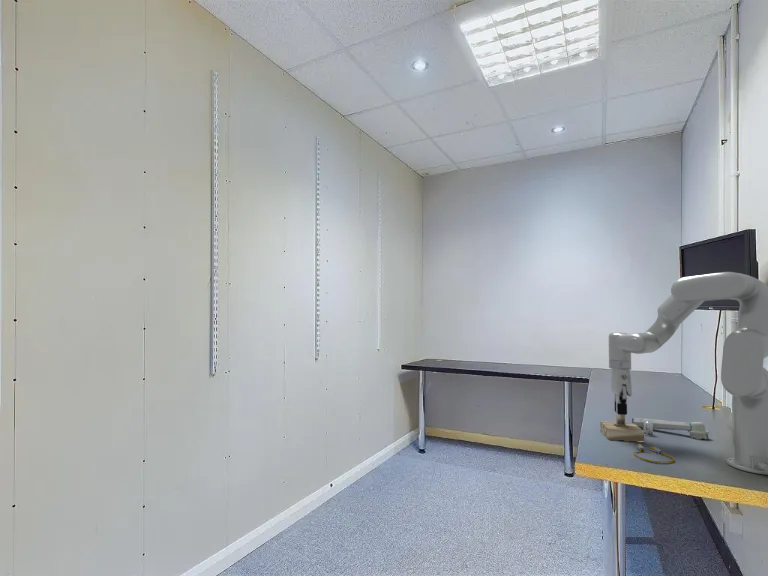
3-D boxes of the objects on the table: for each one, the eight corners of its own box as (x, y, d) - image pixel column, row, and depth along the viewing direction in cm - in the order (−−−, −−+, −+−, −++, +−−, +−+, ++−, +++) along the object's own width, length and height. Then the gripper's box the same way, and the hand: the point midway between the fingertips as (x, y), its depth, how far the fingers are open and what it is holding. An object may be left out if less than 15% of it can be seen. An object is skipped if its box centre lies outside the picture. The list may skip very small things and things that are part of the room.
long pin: (626, 425, 160) (625, 393, 160) (617, 424, 160) (617, 392, 161) (624, 423, 162) (623, 391, 163) (615, 422, 163) (614, 391, 164)
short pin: (654, 436, 162) (653, 423, 162) (645, 435, 163) (645, 422, 163) (651, 434, 165) (651, 421, 165) (642, 433, 166) (642, 420, 166)
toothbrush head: (634, 416, 178) (707, 419, 161) (637, 432, 177) (710, 437, 160) (630, 418, 175) (705, 421, 157) (633, 435, 173) (708, 440, 156)
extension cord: (680, 456, 141) (680, 450, 141) (670, 468, 129) (670, 461, 129) (638, 448, 149) (638, 442, 149) (626, 458, 138) (626, 452, 138)
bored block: (644, 442, 154) (644, 431, 154) (608, 439, 157) (608, 428, 157) (634, 433, 165) (633, 423, 166) (600, 431, 168) (600, 421, 169)
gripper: (637, 368, 154) (638, 419, 153) (624, 363, 170) (625, 409, 169) (615, 367, 156) (615, 417, 155) (604, 362, 172) (604, 408, 170)
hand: (620, 412), depth 162 cm, fingers closed on long pin, 3 cm apart
